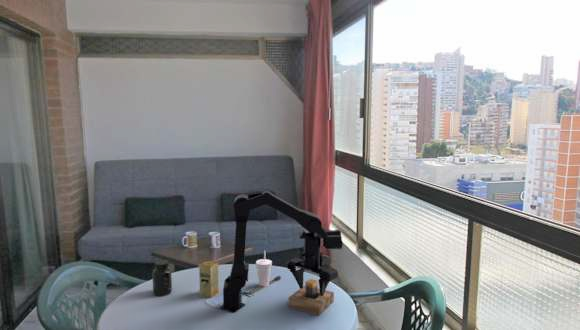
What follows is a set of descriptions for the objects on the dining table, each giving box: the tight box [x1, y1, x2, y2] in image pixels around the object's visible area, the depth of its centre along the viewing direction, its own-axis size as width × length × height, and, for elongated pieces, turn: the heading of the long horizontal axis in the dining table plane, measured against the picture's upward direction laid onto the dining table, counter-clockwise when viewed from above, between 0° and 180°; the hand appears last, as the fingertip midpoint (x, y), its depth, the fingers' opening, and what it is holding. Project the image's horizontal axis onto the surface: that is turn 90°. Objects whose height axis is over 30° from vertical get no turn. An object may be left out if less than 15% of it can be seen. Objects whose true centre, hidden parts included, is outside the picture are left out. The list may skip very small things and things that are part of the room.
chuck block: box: [288, 284, 335, 316], centre depth 147 cm, size 12×12×4 cm
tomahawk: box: [242, 275, 282, 298], centre depth 161 cm, size 21×7×1 cm, turn 141°
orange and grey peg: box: [304, 278, 319, 299], centre depth 147 cm, size 3×3×8 cm
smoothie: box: [255, 250, 273, 288], centre depth 162 cm, size 6×6×14 cm
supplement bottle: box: [152, 259, 173, 297], centre depth 155 cm, size 7×7×12 cm
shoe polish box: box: [198, 260, 219, 299], centre depth 154 cm, size 5×5×12 cm
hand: (311, 292), depth 147 cm, fingers open, 9 cm apart
